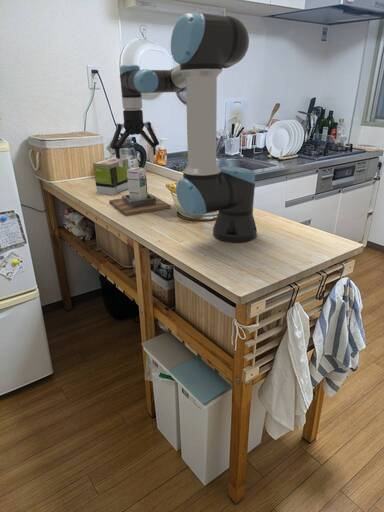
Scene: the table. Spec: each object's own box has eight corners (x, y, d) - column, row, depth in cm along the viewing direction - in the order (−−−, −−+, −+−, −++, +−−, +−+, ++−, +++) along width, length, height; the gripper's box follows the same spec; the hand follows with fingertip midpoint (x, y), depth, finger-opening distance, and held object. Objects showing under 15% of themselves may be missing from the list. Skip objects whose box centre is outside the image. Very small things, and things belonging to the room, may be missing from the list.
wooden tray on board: (170, 208, 158) (170, 199, 157) (125, 216, 149) (124, 206, 148) (150, 197, 174) (150, 188, 172) (109, 203, 165) (108, 194, 163)
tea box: (114, 186, 193) (112, 156, 187) (131, 188, 189) (128, 158, 183) (96, 193, 181) (92, 162, 175) (113, 195, 177) (109, 164, 171)
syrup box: (140, 205, 157) (138, 170, 151) (129, 203, 160) (126, 169, 154) (148, 201, 162) (146, 168, 156) (137, 200, 164) (134, 166, 158)
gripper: (157, 107, 154) (160, 160, 163) (98, 110, 143) (104, 166, 151) (165, 108, 148) (167, 163, 157) (104, 111, 137) (110, 169, 145)
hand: (136, 164), depth 154 cm, fingers open, 13 cm apart
